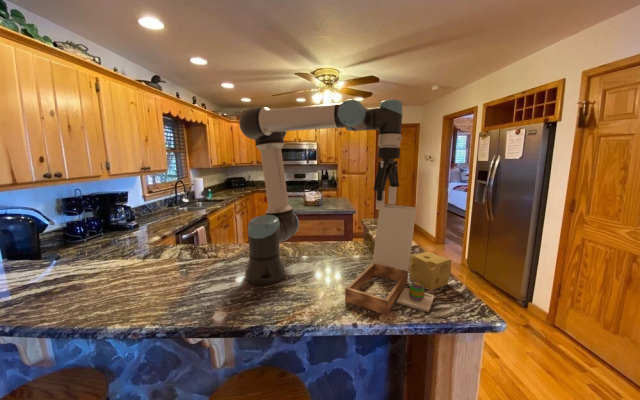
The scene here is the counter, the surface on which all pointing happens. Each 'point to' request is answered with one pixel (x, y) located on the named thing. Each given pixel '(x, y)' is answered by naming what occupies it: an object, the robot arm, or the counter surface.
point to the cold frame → (371, 300)
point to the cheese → (430, 270)
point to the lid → (394, 236)
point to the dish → (421, 305)
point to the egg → (416, 291)
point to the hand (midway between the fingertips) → (386, 206)
